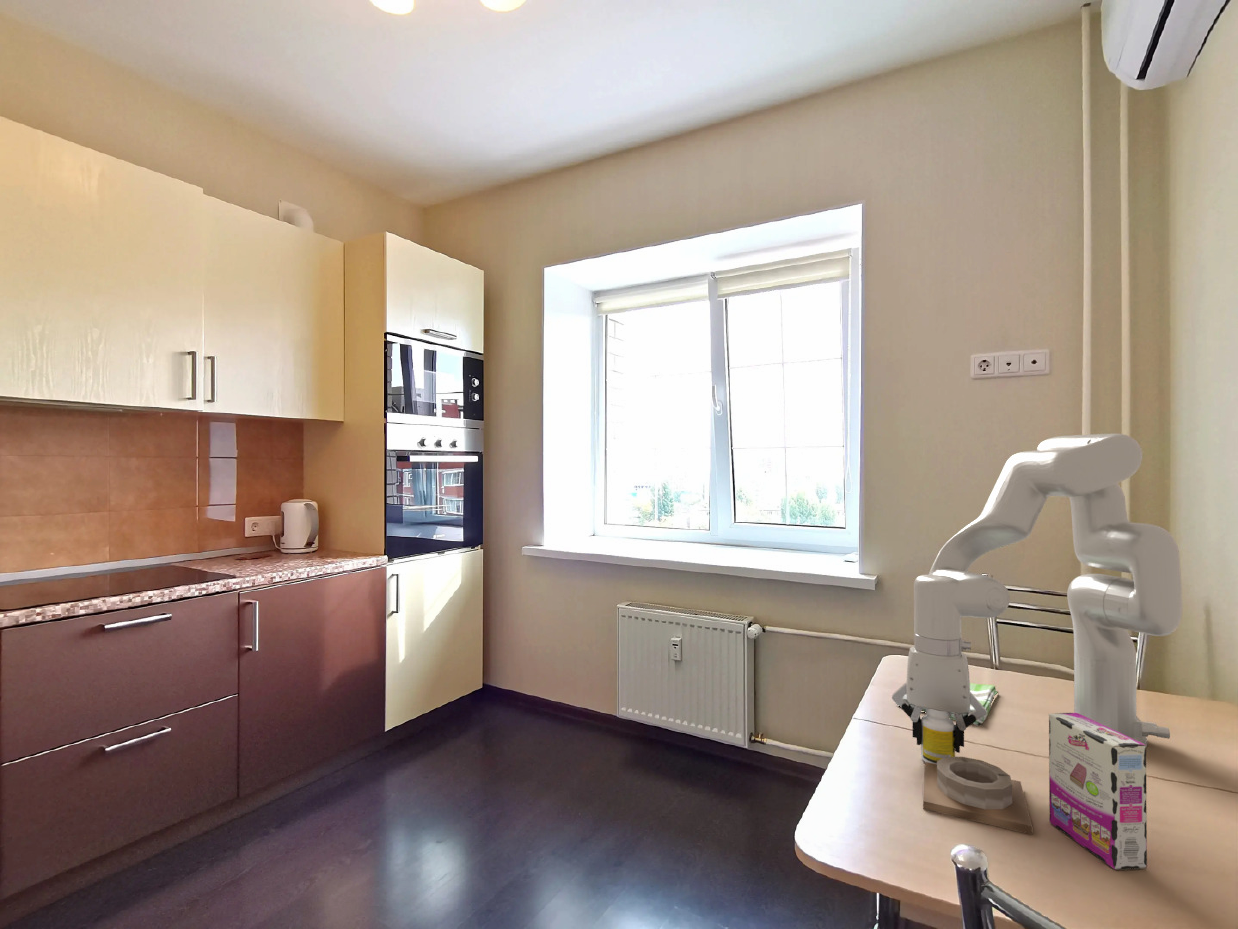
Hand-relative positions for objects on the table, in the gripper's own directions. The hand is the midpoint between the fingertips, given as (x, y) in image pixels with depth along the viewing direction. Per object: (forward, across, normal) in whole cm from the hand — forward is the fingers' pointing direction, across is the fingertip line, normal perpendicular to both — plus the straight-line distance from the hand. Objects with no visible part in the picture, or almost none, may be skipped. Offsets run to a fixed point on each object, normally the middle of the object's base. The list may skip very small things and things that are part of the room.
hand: (937, 744), depth 108 cm
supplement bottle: (+3, 0, 0) cm, 3 cm away
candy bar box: (+3, -20, +16) cm, 26 cm away
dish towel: (+4, -2, -34) cm, 34 cm away
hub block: (+3, -5, +11) cm, 12 cm away
